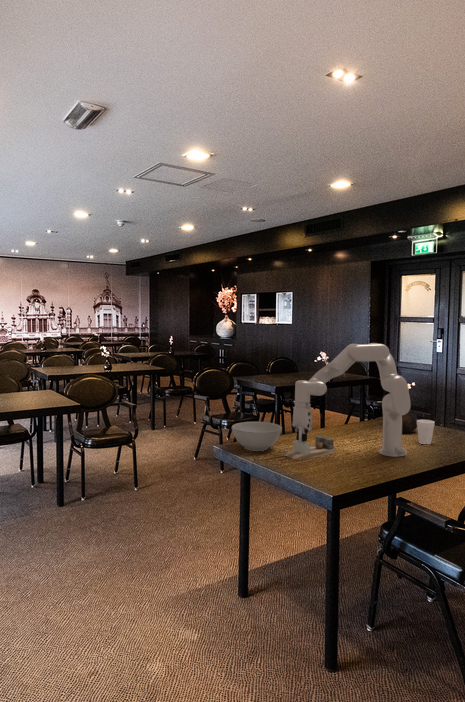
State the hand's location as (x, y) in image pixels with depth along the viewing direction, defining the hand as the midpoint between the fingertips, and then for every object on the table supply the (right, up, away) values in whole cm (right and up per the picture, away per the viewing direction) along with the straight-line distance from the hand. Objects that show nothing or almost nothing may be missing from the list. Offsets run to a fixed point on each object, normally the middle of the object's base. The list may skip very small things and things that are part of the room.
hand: (301, 440), depth 252 cm
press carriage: (0, -6, 0) cm, 6 cm away
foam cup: (+74, -8, +29) cm, 80 cm away
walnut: (+11, -6, +8) cm, 15 cm away
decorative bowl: (-22, -7, +14) cm, 27 cm away
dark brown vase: (+72, -6, +59) cm, 93 cm away
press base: (+5, -8, +4) cm, 10 cm away
